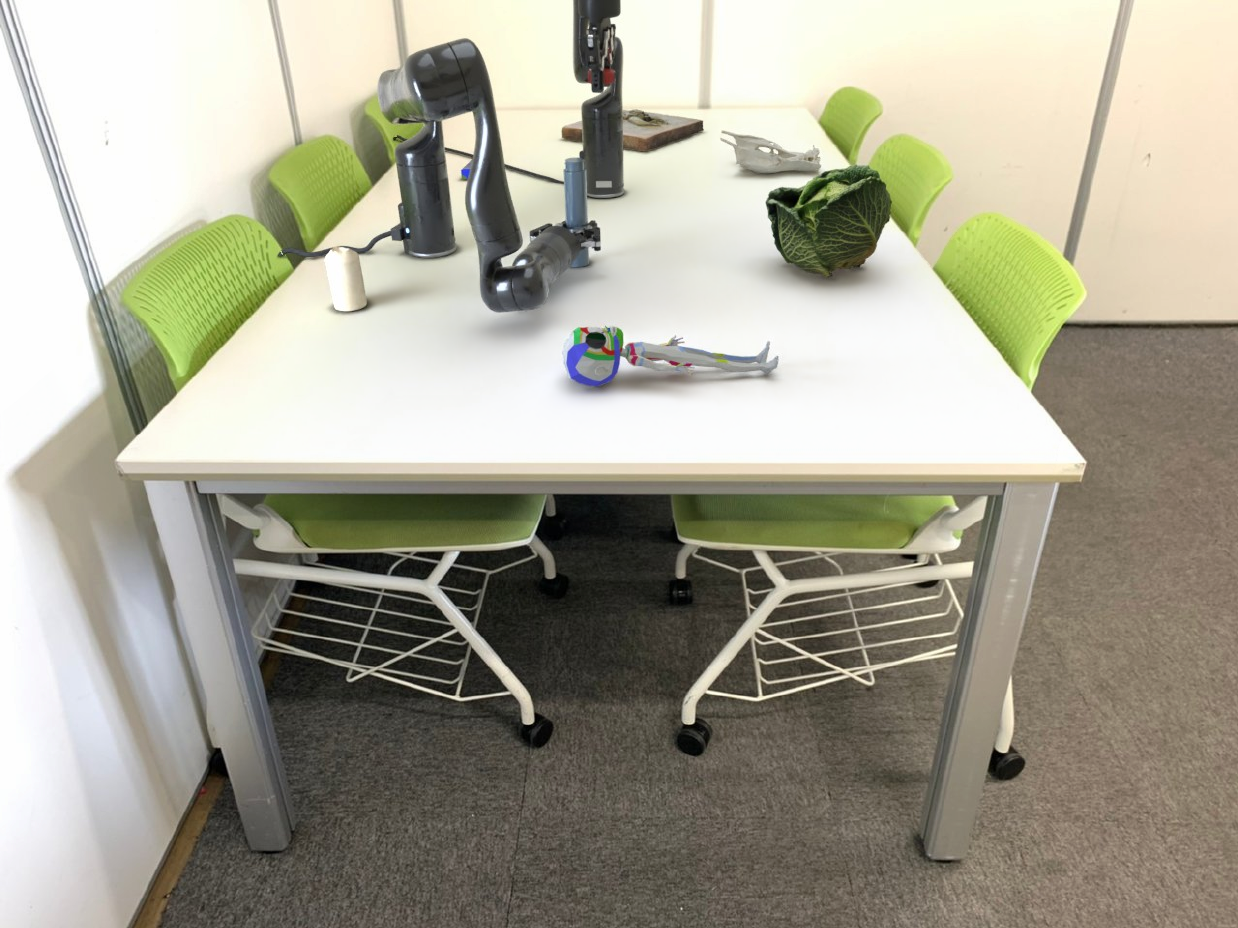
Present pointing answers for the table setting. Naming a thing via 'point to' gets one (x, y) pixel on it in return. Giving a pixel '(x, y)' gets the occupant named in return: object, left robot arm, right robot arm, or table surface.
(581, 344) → the toy
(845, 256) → the vegetable
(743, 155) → the anatomical model
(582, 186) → the blue cylindrical tube
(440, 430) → the table surface
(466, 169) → the pillar
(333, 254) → the candle
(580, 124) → the plaque
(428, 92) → the left robot arm
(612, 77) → the lid
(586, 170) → the right robot arm
